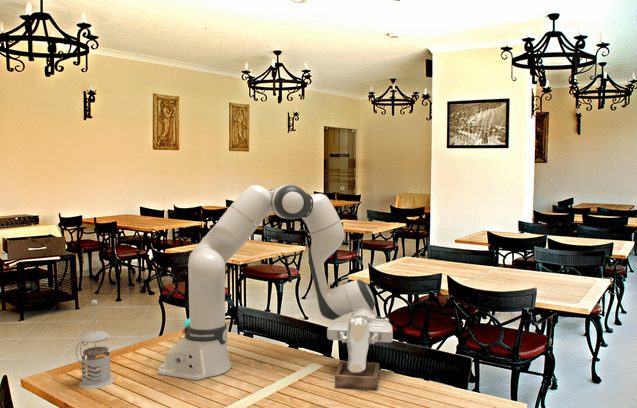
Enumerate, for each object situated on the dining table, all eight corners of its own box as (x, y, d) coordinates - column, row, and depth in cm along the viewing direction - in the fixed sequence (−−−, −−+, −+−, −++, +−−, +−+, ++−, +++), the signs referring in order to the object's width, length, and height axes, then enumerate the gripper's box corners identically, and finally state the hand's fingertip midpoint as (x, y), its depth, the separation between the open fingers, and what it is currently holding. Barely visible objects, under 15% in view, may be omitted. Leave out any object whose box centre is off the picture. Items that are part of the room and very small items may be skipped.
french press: (98, 390, 143) (95, 304, 142) (66, 386, 147) (63, 302, 145) (121, 377, 152) (119, 297, 151) (91, 373, 156) (88, 294, 155)
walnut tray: (335, 387, 143) (334, 375, 143) (340, 371, 155) (340, 360, 155) (376, 390, 141) (376, 378, 141) (379, 374, 153) (379, 363, 153)
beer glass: (367, 376, 144) (369, 324, 143) (343, 373, 145) (345, 322, 145) (369, 367, 151) (371, 318, 150) (346, 365, 152) (348, 316, 152)
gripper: (330, 316, 162) (322, 328, 149) (393, 318, 158) (392, 331, 145) (330, 335, 162) (323, 349, 149) (393, 337, 159) (392, 353, 145)
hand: (357, 340), depth 147 cm, fingers closed on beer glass, 7 cm apart
